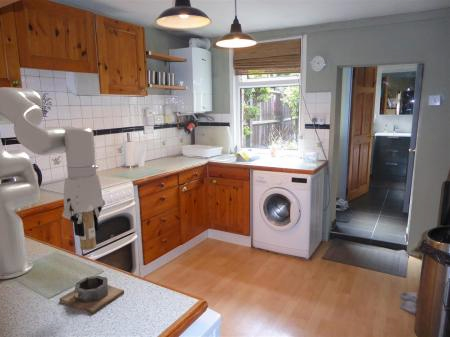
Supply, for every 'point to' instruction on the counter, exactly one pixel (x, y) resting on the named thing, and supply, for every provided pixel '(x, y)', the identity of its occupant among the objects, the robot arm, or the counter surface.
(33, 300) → the counter surface
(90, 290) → the socket
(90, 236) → the sprinkles bottle
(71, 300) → the walnut board
